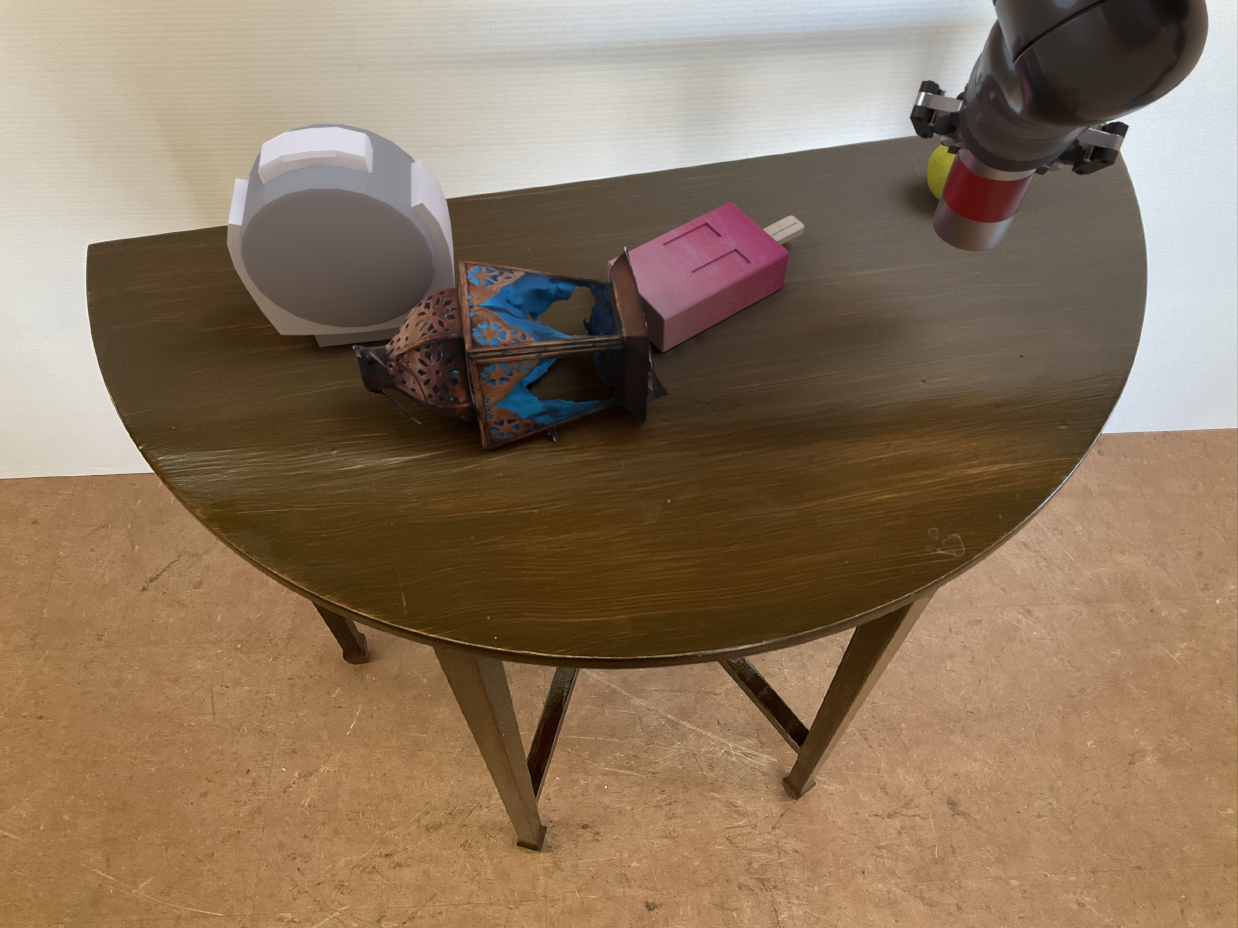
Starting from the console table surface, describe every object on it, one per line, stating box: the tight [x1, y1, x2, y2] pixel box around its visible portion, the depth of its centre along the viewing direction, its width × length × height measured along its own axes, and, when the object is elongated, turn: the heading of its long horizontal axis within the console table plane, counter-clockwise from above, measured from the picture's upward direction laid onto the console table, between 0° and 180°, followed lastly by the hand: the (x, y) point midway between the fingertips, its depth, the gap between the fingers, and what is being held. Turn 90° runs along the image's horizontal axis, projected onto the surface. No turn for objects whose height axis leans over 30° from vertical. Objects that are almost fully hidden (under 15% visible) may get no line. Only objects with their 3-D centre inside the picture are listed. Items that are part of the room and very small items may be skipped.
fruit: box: [926, 144, 955, 201], centre depth 86 cm, size 7×7×12 cm
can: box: [932, 147, 1038, 252], centre depth 67 cm, size 6×6×10 cm
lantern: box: [352, 246, 669, 452], centre depth 73 cm, size 16×16×25 cm
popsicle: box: [606, 201, 805, 353], centre depth 83 cm, size 9×5×20 cm
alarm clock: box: [226, 123, 456, 348], centre depth 75 cm, size 18×8×20 cm, turn 98°
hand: (998, 150), depth 67 cm, fingers closed on can, 6 cm apart
